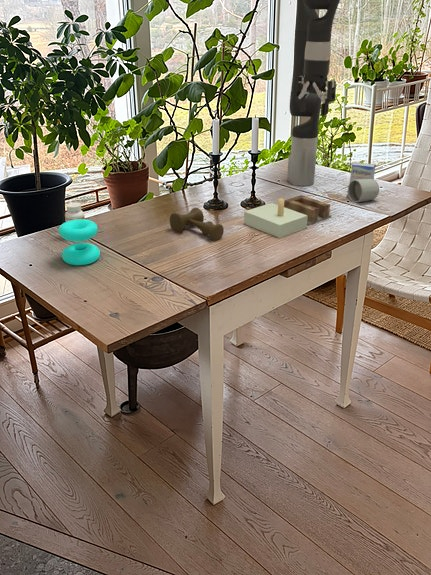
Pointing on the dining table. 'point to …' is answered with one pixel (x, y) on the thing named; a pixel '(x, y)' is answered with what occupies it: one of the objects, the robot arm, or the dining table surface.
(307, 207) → the c link
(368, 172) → the medicine box
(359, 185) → the ceramic mug
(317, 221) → the coaster
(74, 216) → the supplement bottle
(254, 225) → the stand
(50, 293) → the dining table surface
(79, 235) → the donuts
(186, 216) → the brown dog bone
